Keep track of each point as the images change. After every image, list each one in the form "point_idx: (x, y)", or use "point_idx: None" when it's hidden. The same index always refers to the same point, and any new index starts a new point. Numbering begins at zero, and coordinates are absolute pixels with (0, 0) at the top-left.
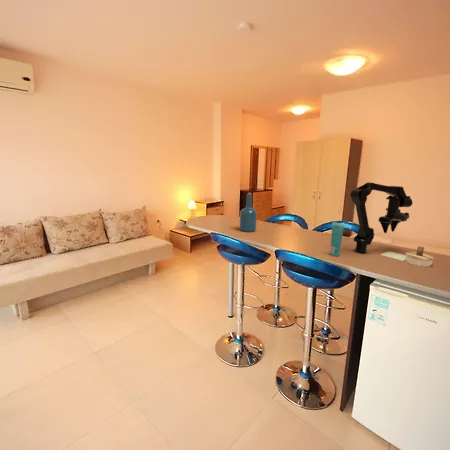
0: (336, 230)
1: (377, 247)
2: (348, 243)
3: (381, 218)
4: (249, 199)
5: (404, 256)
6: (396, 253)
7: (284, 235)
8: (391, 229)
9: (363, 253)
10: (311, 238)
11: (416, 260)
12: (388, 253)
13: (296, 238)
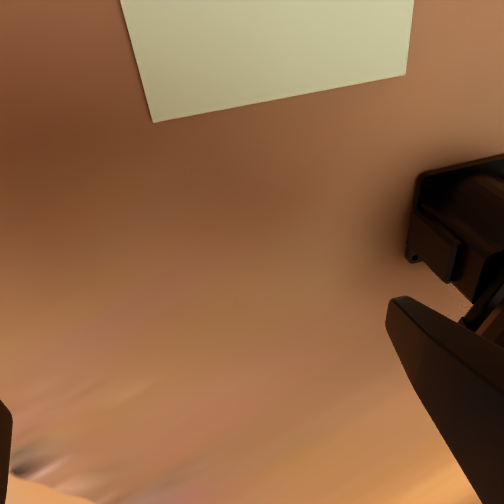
0: None
1: (113, 288)
2: (271, 400)
3: None
4: None
5: None
6: (138, 4)
7: (441, 500)
8: (6, 473)
9: (498, 168)
10: (381, 474)
11: None
12: (260, 59)
13: (447, 471)
